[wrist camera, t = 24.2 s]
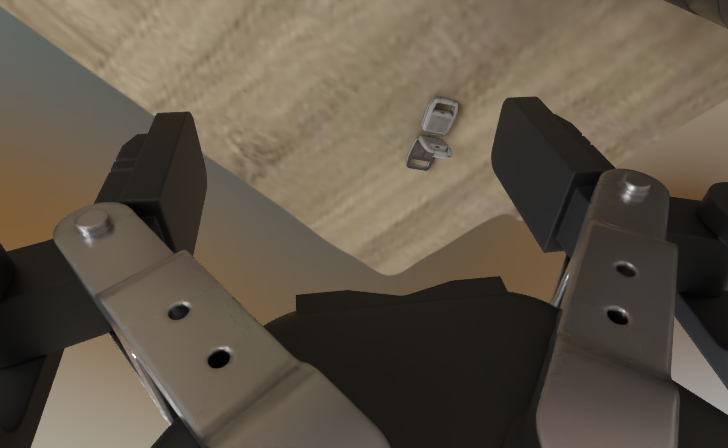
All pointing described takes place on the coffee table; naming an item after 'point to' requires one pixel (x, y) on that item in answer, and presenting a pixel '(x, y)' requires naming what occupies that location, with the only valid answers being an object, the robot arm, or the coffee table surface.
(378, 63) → the coffee table surface
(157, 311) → the robot arm
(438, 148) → the strap clip
